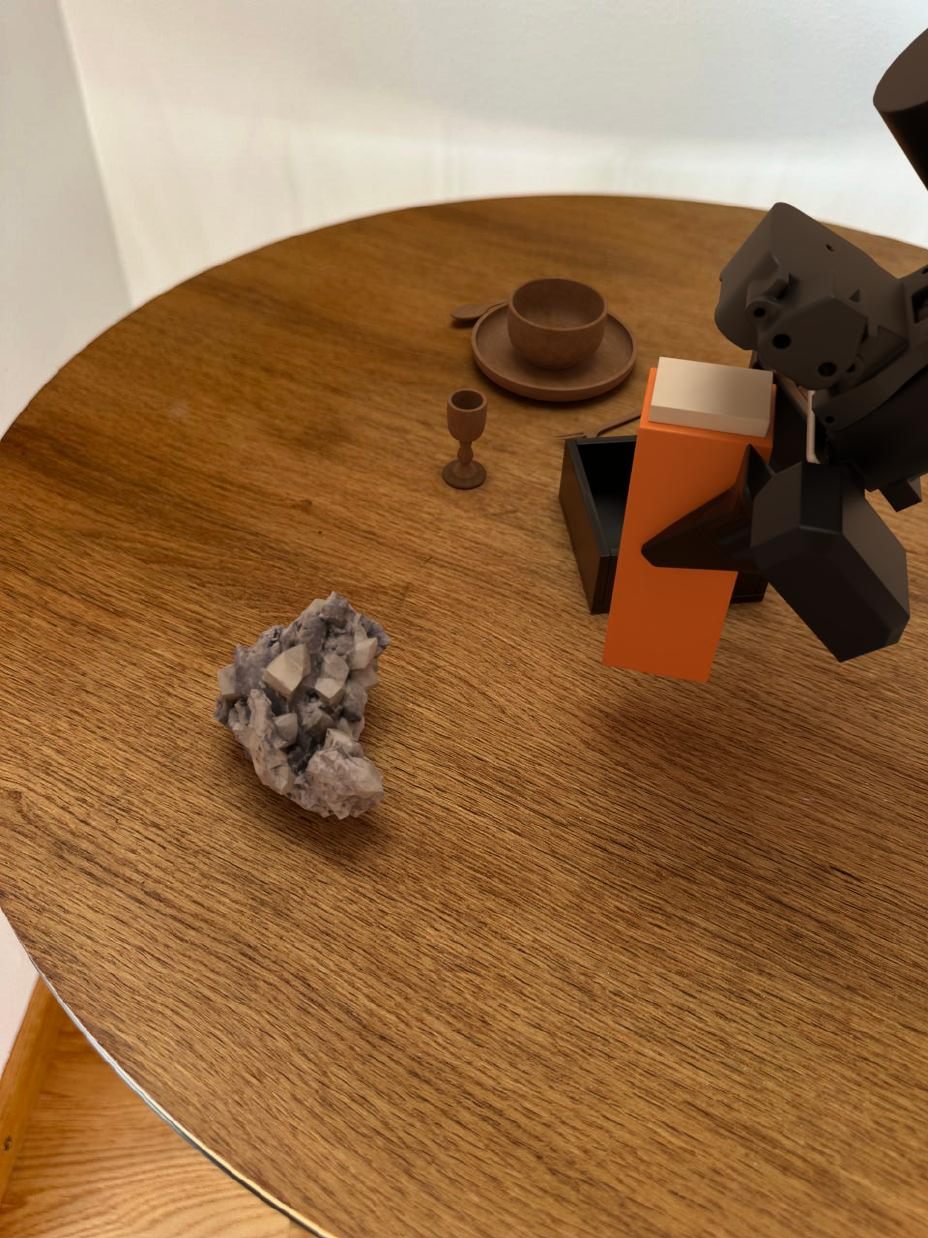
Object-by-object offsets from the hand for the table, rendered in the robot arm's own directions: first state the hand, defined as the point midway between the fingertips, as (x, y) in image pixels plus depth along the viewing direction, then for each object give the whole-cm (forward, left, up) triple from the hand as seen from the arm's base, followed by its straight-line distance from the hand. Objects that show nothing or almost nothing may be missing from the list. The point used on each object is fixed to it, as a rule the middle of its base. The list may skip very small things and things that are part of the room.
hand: (652, 523), depth 47 cm
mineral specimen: (+16, +3, -14) cm, 21 cm away
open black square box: (-3, -13, -14) cm, 19 cm away
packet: (-1, 0, -8) cm, 8 cm away
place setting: (+6, -29, -14) cm, 33 cm away
